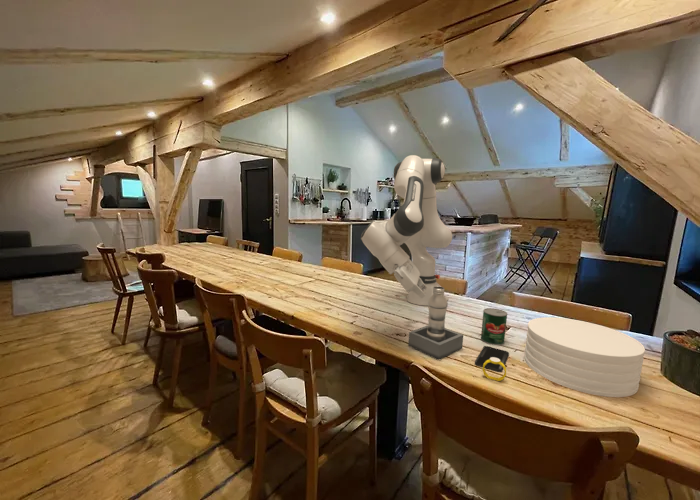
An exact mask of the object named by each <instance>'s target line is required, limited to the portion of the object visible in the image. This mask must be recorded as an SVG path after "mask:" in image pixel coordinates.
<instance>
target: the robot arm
mask: <svg viewBox="0 0 700 500" xmlns="http://www.w3.org/2000/svg"><path fill="white" fill-rule="evenodd" d="M445 167H446V166H445V165H444V161H443V160H442V159H440V158H436V157H433V158H422V157H421V156H418V155H416V154H410V155H407V156H406V157H404V159H402V161H400V162H398V163H396V165H395V166H394V168H393V179H394V183H393V184H394V185H393V186H394V188H393V189H394V191H395V193H396V194H397V196H399V197H400V198H402V199H403V204H402V205H401V206H400V207H399V208H398V209H397V211H396V212H395V213H394V214H393V215H392V216H391V218H389V220H386V221H374V220H372V221H371V222H370V223H369V224H368V225H367V226H366V227H365V229H364V230H362V232H361V235H360V240H361V241H362V243H363V245H364V246H365V247H366V248H367V249H368V251H369V253H371V254H372V255H373V256H374V257H375V258H377V259H378V261H379V262H380V264H381V265H382V266H383V268H384V269H385V270H386V271H387V272H388V274H389V275H392V274H393V276H394V277H395V279H396V280H397V282H399V284H400V285H401V287H402V288H403V289H404V290H405V291H406V292H407V293H408V294H406V299H407V302H409V303H411V304H414V305H418V306H419V305H420V306H428V301H429V299H430V298H431V296H432V295H433V294H434V293H433V287H435V286H439V287H442V286H441V285H440V284H439V283H438V281H437V279H439V280H440V278H441V276H440V274H436V273H435V272H436V259H435V257H434V256H432V254H430V253H429V252H428V250H427V248H433V249H442V248H447V247H449V246H450V244H452V241H453V232H452V231H451V229H450V227H448V226H447V225H446V224H445V223H444V222H443V221H442V220H441V218H440V216H439V212H438V206H437V190H436V185H438V183H440V182H441V181H442V180H443V179H444V176H445V172H446V168H445ZM403 244H405V245H406V246H407V248H408V249H409V252H410V254H411V257H410V255H409V254H408V253H407V252H405V250H404V249H403V248H402V247H401V245H403ZM410 258H411V259H410ZM443 295H444V297H445V298H446V300H447V302H448V301H449V297H447V296H445V293H444V294H443Z"/></svg>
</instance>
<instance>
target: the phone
mask: <svg viewBox="0 0 700 500" xmlns="http://www.w3.org/2000/svg"><path fill="white" fill-rule="evenodd" d="M509 355H510V352H509V351H506V350H503V349H500V348H497V347H492V346H488V345H485V346H483V347H482V349H481V351H480V353H478V356H477V357H476V359H475V360H474V366H477V367H478V368H479V367H480V368H482V369H483V364H484V363H485V362H486V360H489V359H490V358H491V357H495V358H498V359H500V361H501V362H502V363H503V364H504V366H505V367H506V362H507V361H508V359H509ZM484 369H486V370H489V371H493V372H496V373H502V372H503V370H504V369H503V367H502V366H501V365H500V364H493V363H491V362H489V363H487V364H486V365H485V367H484Z"/></svg>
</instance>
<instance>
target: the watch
mask: <svg viewBox="0 0 700 500" xmlns="http://www.w3.org/2000/svg"><path fill="white" fill-rule="evenodd" d="M489 362H491V363H493V364H500V365H501V366H502V367H503V370H504V373H503V375H502V376H500V377H495V376H492V375H489V374H488V373H487V372H486V370H485V369H486V367H485V365H486V364H487V363H489ZM484 367H485V368H484ZM482 372H483V375H484V376H485V377H486V378H487V379H488V380H492V381H493V380H494V381H496V382H501V381H503V380H504V379H505V377H506V376H507V367H506V365H505V366H504V364H503V363H502V362H501V361H500V359H498V358H495V357H491V358H490V359H489V360H486V362H485V363H484V364H483V368H482Z"/></svg>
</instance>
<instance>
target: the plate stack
mask: <svg viewBox="0 0 700 500" xmlns="http://www.w3.org/2000/svg"><path fill="white" fill-rule="evenodd" d="M645 353H646V349H645V346H644V345H643V344H642V343H641V342H640V341H639V340H637V339H636V338H634V337H632V336H630V335H628V334H626V333H623V332H621V331H618V330H617V329H614V328H609V327H607V326H604V325H601V324H596V323H593V322H587V321H583V320H578V319H573V318H572V319H571V318H565V317H554V316H553V317H549V316H547V317H544V316H543V317H536V318H532V319H531V320H529V321H528V323H527V331H526V338H525V346H524V354H523V355H524V356H523V360H524V362H525V364H526V365H527V366H528V367H529V368H530V369H531V370H532V371H534V372H535V373H536V374H538V375H539V376H542V377H543V378H545V379H547V380H548V381H551V382H552V383H555V384H558V385H560V386H562V387H566V388H568V389H571V390H574V391H578V392H581V393H584V394H588V395H594V396H600V397H605V398H625V397H630V396H634V395H635V394H636V393H637V392H638V391H639V388H640V387H639V386H640V381H641V374H642V371H643V366H642V365H643V363H644V355H645Z"/></svg>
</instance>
